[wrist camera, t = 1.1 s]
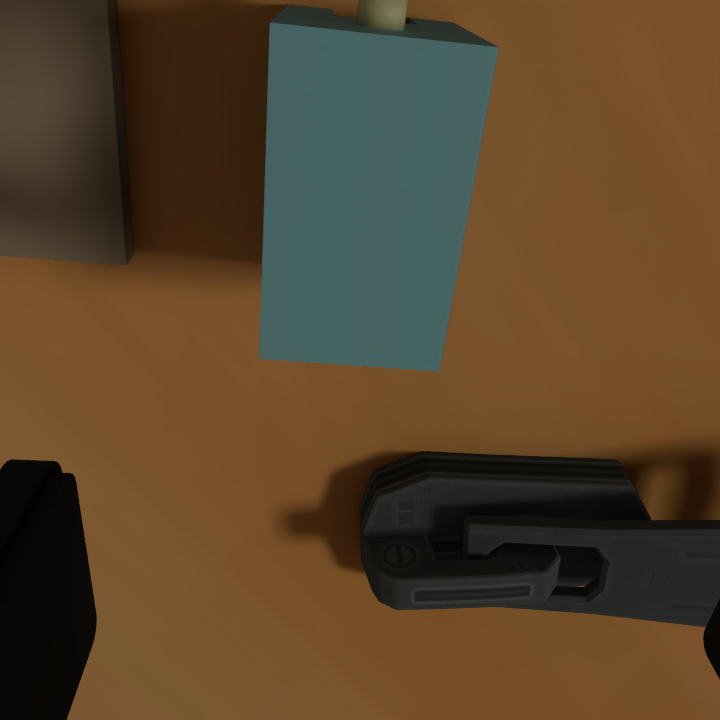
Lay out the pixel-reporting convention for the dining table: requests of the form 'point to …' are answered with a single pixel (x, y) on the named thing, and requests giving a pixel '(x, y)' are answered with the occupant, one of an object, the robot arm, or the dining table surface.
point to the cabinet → (367, 182)
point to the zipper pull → (532, 540)
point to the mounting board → (63, 133)
